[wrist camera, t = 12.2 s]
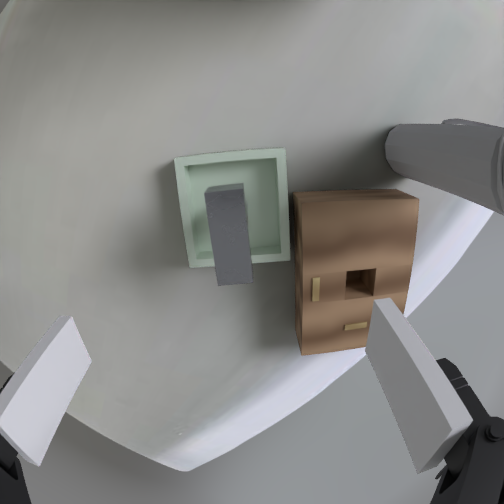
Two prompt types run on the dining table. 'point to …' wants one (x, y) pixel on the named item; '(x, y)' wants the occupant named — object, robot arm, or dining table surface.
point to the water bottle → (452, 158)
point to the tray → (256, 194)
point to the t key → (229, 233)
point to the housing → (349, 262)
